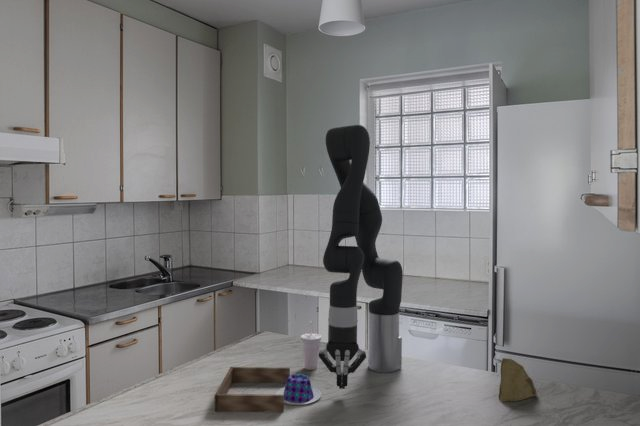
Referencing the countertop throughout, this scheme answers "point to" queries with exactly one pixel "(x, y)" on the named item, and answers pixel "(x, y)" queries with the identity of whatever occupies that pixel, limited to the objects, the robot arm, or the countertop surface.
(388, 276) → the robot arm
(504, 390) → the rock
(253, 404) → the box
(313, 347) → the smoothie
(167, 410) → the countertop surface
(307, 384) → the pudding
